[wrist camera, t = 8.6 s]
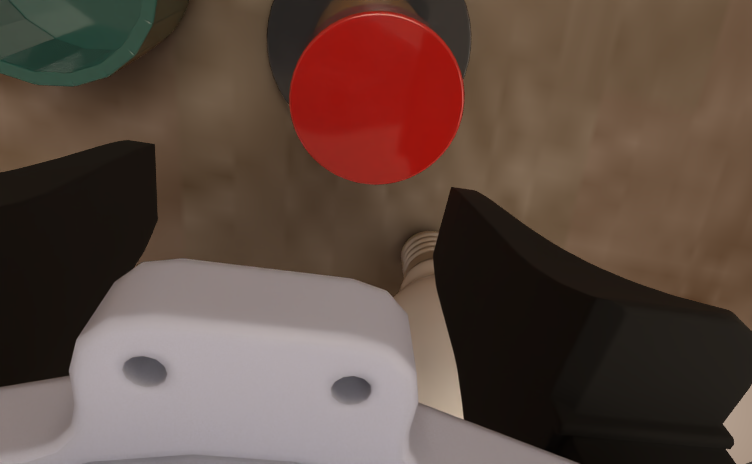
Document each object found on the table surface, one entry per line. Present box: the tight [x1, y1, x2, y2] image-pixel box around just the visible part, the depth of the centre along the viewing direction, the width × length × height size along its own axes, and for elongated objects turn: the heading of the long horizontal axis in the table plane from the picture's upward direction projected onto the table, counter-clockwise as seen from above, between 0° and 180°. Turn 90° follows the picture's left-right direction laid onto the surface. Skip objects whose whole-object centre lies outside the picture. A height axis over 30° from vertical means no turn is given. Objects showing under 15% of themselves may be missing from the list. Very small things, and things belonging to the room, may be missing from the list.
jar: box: [289, 0, 465, 185], centre depth 17 cm, size 5×5×8 cm
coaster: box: [267, 0, 471, 104], centre depth 21 cm, size 8×8×1 cm
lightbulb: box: [393, 231, 464, 419], centre depth 21 cm, size 6×6×11 cm
